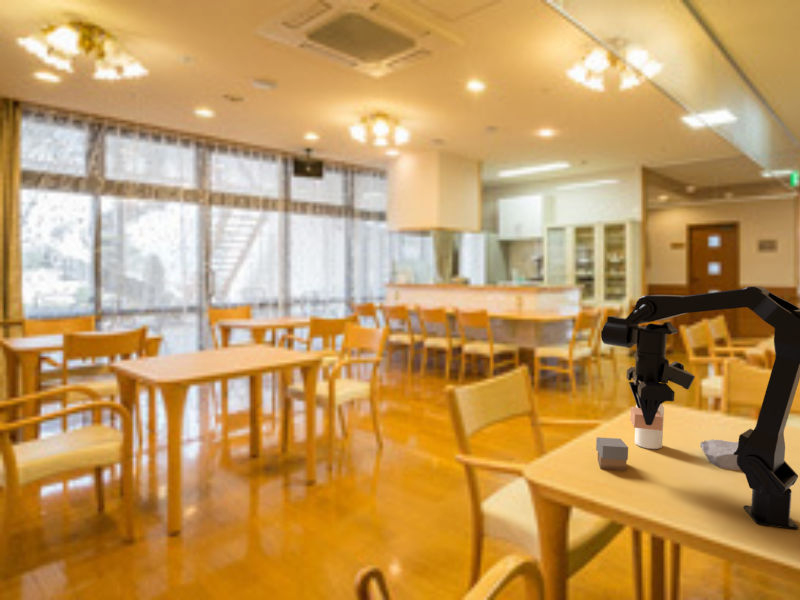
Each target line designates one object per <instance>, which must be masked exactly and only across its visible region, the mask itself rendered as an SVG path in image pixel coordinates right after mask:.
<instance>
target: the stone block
mask: <svg viewBox="0 0 800 600" xmlns="http://www.w3.org/2000/svg"><path fill="white" fill-rule="evenodd" d="M738 442H739V441H728V440H724V439H709V440H704V441H701V442H700V444H699V445H700V446H699V447H700V448H701V450H702V451H703V453H704V455H705V456H706V458H707V460H708V462H709V463H710V464H712V465H713V466H715V467H717V468H719V469H724V470H731V471H732V470H733V471H741V469H740V468H739V466H738V465H737V456H738V455H734V452H735V451H736V450H737V448H738Z"/></svg>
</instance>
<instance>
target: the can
mask: <svg viewBox="0 0 800 600" xmlns="http://www.w3.org/2000/svg"><path fill="white" fill-rule="evenodd" d="M635 407H637V404H636V405H635ZM637 408H638V407H637ZM658 411H659V412H660V414H661V415H662V416H663V422H664V419H665V416H664V415H665V407H664V406H663V403H662V404H660V406H659V408H658ZM663 439H664V425H663V426H662V431H659V430H651V429H642V428H634V443H635V445H636V446H638V447H639V448H643V449H646V450H659V449H661V448H662V447H663Z"/></svg>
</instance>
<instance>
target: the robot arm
mask: <svg viewBox="0 0 800 600" xmlns="http://www.w3.org/2000/svg"><path fill="white" fill-rule="evenodd" d="M741 308H742V309H743V308H748V309H749V310H750V311H752V312H753V313H754V314H755V315H757V316H758V317H759V318H760V319H761V320H762V321H764V322H765V323H766V324H768V325H769V326H771V327H772V328H774V330H773V331H774V333H773V345H774V353H775V356H774V357H775V358H774V361H773V365H772V369H771V372H770V376H769V378H768V383H767V385H766V390H765V392H764V397H763V400H762V403H761V407H760V411H759V414H758V416H757V417H758V418H757V421H756V424H755V427H754V429H752V428H749V429H748V430H746V431H744V432H742V433H740V434H739V435H738V441H737V442H738V448H737V450H736V451H735V452H734V455H738V456H737V465H738V466H739V468H740V469H741V470H740V471H741V472H742V473H743V474H744V475H745V478H746V482H747V484H748V487H749V488H750V489H751V490H752V493H751V505H747V504H746V505H745V504H743V509H744V511H746V513H747V514H748V515H749V517H750V518H751V519H752V520H753V521H754V522H755V523H756V524H758V525H762V526H771V527H778V528H784V529H791V528H792V529H791V530H799V525H798V524H796V522H795V521H794V520H793V519H792V518H791V508H792V507H791V505H792V492H793V491H792V489H791V487H792V486H794V485H795V484H796V482H797V480H798V478H799V475H798V473H797V472H796V471H795V470H794V469H793V468H792V467H791V466H790V465H789V464H788V463H787V461H785V456H786V455H785V454H786V453H785V452H786V441H785V436H784V435H785V433H784V432H785V429H786V425H787V422H788V419H789V415H790V411H791V409H792V406H793V402H794V399H795V396H796V392H797V389H798V385H799V383H800V307H798V306H797V305H795V304H793V303H792V302H790V301H788V300H787V299H784V298H782V297H780V296H778V295H776V294H774V293H773V292H772V291H769V290H768V289H767V288H766V287H763V286H761V285H760V286H759V285H758V286H757V285H753V286H747V287H744V288H738V289H729V290H721V291H715V292H707V293H706V292H705V293H699V294H697V293H696V294H690V295H678V294H649V295H648V294H647V295H643V296H641V297H639V298H638V299H637V301H636V303H635V306H634V309H633V310H632V311H631V312H630V314H628V316H627V317H625V318H624V317H621V316H620V317H619V316H615V315H609V316H607V318H606V322H605V323H604V325H603V327H602V330H601V331H600V333H601V334H600V335H601V336H600V337H601V341H602V343H603V344H604V345H610V346H615V347H621V348H626V349H632V347H634V345H636V351H635V352H634V354H633V358H634V359H635V363H634V364H635V365H634V366H630V367H629V368H628V369H627V370H626V376H625V377H626V379H627V381H628V385H629V388H630V391H631V393H632V395H633V398H634V401H635V404H636V405H637V407H638V408H641V411H642V414H643V417H644V420H645V423H646V425H652V423H653V420H654V418H655V415H656V413H657V410H658V408H659V406H660V404H662V405H663V403H665V402H674V401H675V393H676V392H675V391H674V390H673V388H672V387H671V386H669V382H670V383H673V384H674V385H675V384H676V385H677V386H680V387H682V388H683V389H685V390H690V388H691V386H692V383H693V381H694V380H695V377H696V376H695V375H694V374H692V373H691V372H690V371H688V370H685V366H684V364H682V363H681V362H678V361H673V362H672V363H670V360H669V359H668V358H666V351H667V336H668V335H674V334H677V333H679V330H678V329H677V328H676V327H675V326H673V324H672V322H671V321H668V322H667V321H666V322H664V323H663V324H661V323H660V324H658V323H652V322H658V321H664V320H669V319H672V318H675V317H679V316H680V317H681V316H682V315H686V314H689V313H699V312H711V311H718V310H719V311H722V310H730V309H731V310H732V309H741ZM646 323H647V325H646V326H639V325H640V324H641V325H642V324H646Z"/></svg>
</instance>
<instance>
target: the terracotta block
mask: <svg viewBox="0 0 800 600" xmlns="http://www.w3.org/2000/svg"><path fill="white" fill-rule="evenodd" d="M629 418H630V419H629V420H630V422H631V424H632V426H633V428H634V429H635V428H642V429H651V430H659V431H662V426H663V427H664V421H663V416H662V415H661V414H660V412H659V411H658V410H657V413H656V415H655V418H654V420H653V423H652V425H646V423H645V420H644V417H643V414H642V411H641V408H637V407H636V406H631V407H630V417H629Z"/></svg>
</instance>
